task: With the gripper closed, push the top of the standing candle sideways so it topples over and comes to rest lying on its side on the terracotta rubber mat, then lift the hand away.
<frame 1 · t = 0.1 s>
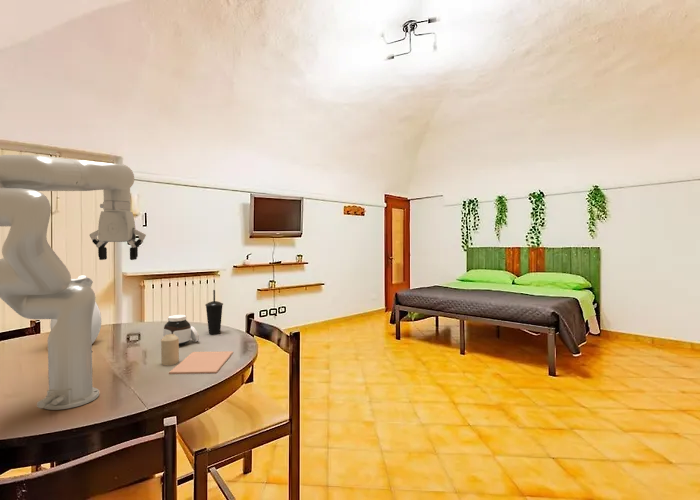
hand: (118, 259, 126), 37 cm above the table, tool pointing down, fingers open, 9 cm apart
drinking cup: (214, 334, 175), on the table
spread jar: (182, 344, 159), on the table
candle: (170, 363, 134), on the table
mat: (203, 362, 135), on the table
pitcher: (79, 343, 159), on the table
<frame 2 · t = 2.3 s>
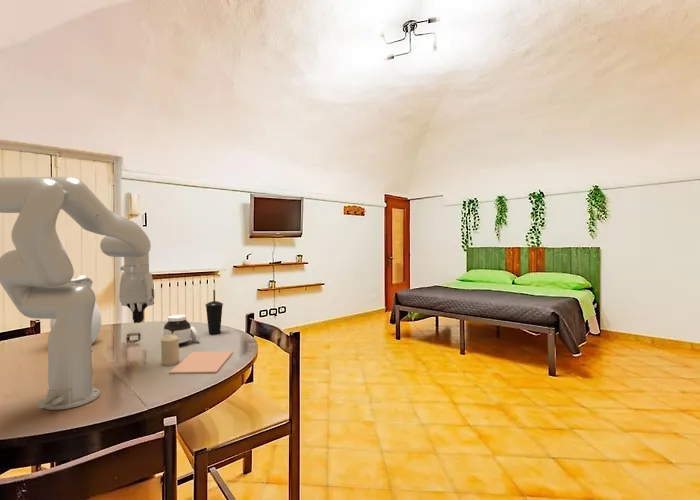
hand: (138, 321, 134), 14 cm above the table, tool pointing down, fingers closed
nothing on the table moved.
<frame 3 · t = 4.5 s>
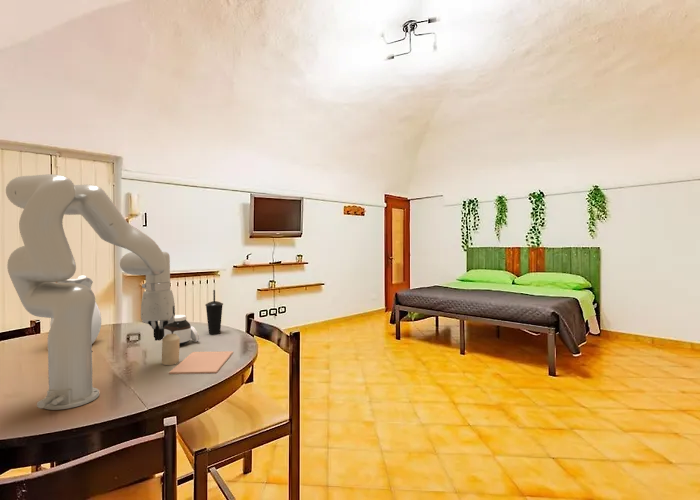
hand: (159, 339, 134), 8 cm above the table, tool pointing down, fingers closed
candle: (170, 363, 134), on the table, touching gripper
everything else where it was.
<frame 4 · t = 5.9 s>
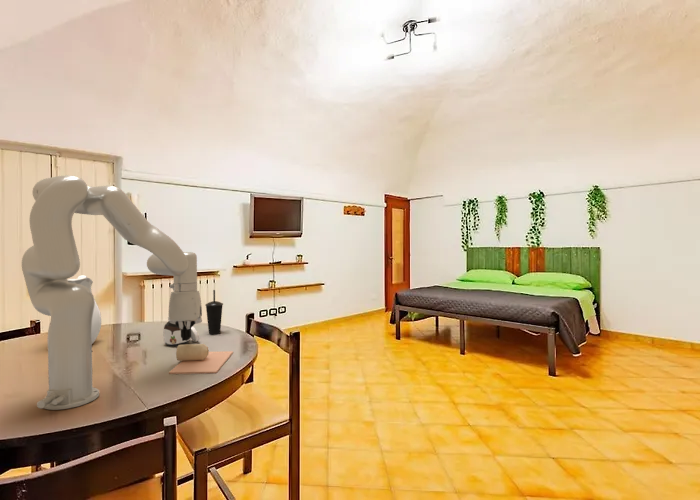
hand: (186, 339, 134), 8 cm above the table, tool pointing down, fingers closed
candle: (177, 352, 135), point 3 cm above the table, touching mat
everything else where it was.
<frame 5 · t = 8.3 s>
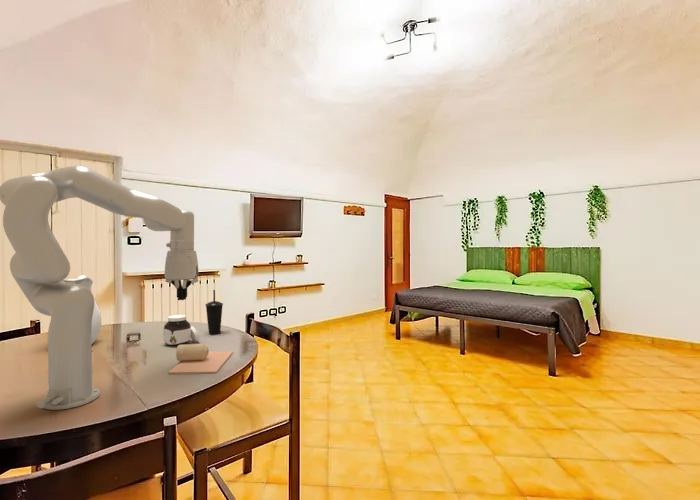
hand: (181, 299, 133), 22 cm above the table, tool pointing down, fingers closed
nothing on the table moved.
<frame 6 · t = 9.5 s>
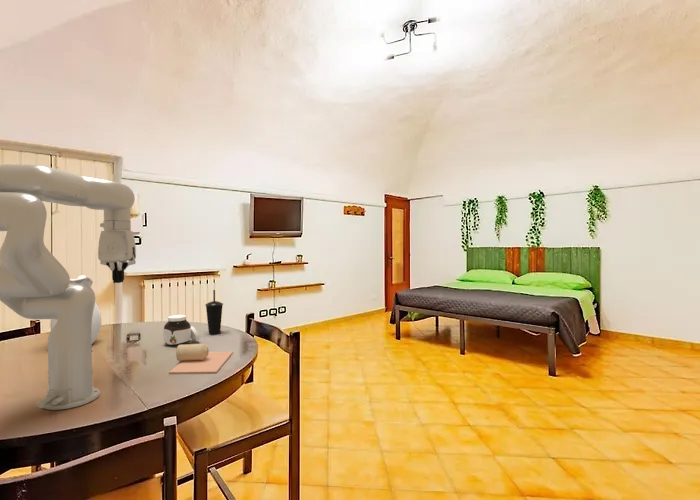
hand: (118, 282, 126), 29 cm above the table, tool pointing down, fingers closed
nothing on the table moved.
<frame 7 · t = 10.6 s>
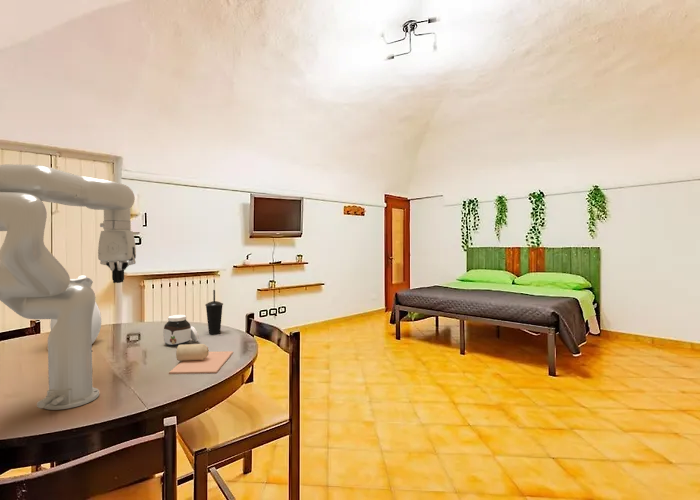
hand: (118, 282, 126), 29 cm above the table, tool pointing down, fingers closed
nothing on the table moved.
at the end: candle tilted 90°; candle inside the target area (4.8 cm from its centre), point 3.4 cm above the table; candle touching mat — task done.
